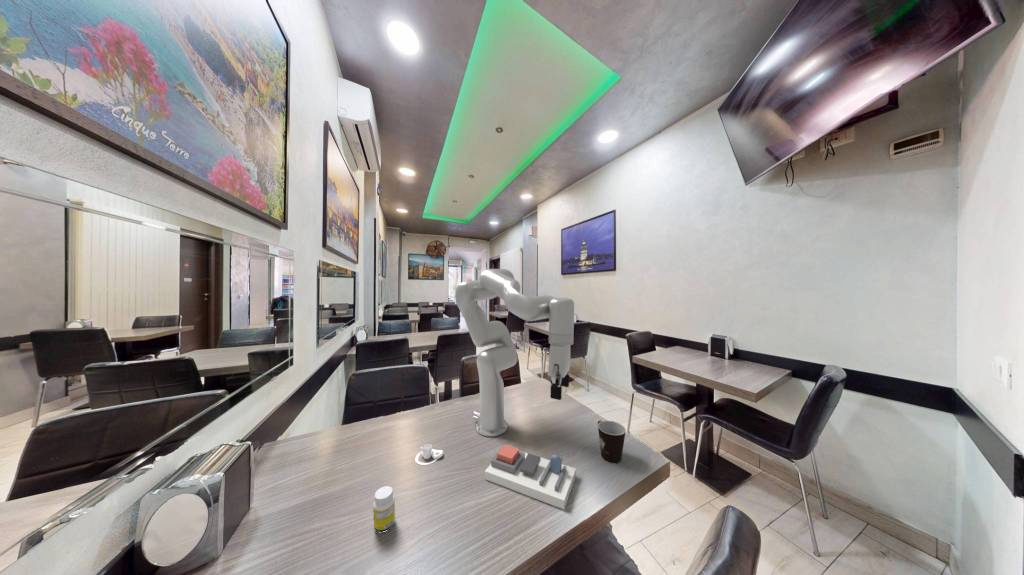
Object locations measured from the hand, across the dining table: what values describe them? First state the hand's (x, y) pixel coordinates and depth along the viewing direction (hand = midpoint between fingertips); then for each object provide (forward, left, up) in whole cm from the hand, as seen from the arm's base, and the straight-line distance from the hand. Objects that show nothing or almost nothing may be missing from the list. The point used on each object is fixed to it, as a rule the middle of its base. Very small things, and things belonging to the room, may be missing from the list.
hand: (560, 392), depth 86 cm
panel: (-6, -9, -24) cm, 26 cm away
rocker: (-6, -9, -20) cm, 22 cm away
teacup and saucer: (-38, -17, -25) cm, 49 cm away
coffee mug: (+14, +13, -24) cm, 31 cm away
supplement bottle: (-32, -39, -24) cm, 56 cm away
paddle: (+1, -6, -21) cm, 22 cm away
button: (-14, -9, -20) cm, 26 cm away
